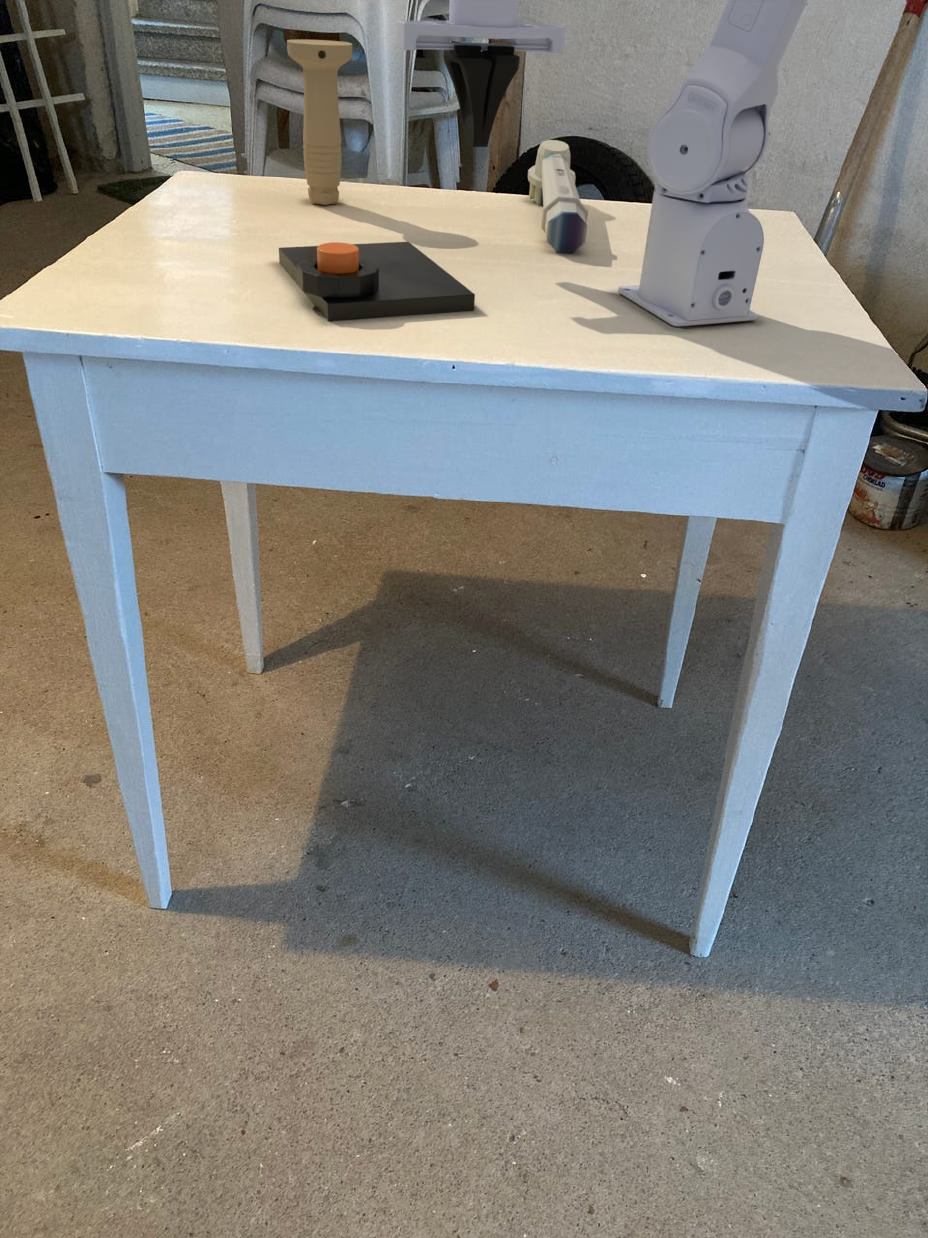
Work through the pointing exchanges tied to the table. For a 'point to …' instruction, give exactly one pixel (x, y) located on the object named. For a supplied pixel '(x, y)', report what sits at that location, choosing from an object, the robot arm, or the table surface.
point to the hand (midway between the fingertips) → (476, 144)
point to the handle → (321, 114)
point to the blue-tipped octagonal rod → (558, 197)
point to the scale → (378, 283)
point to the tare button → (338, 257)
